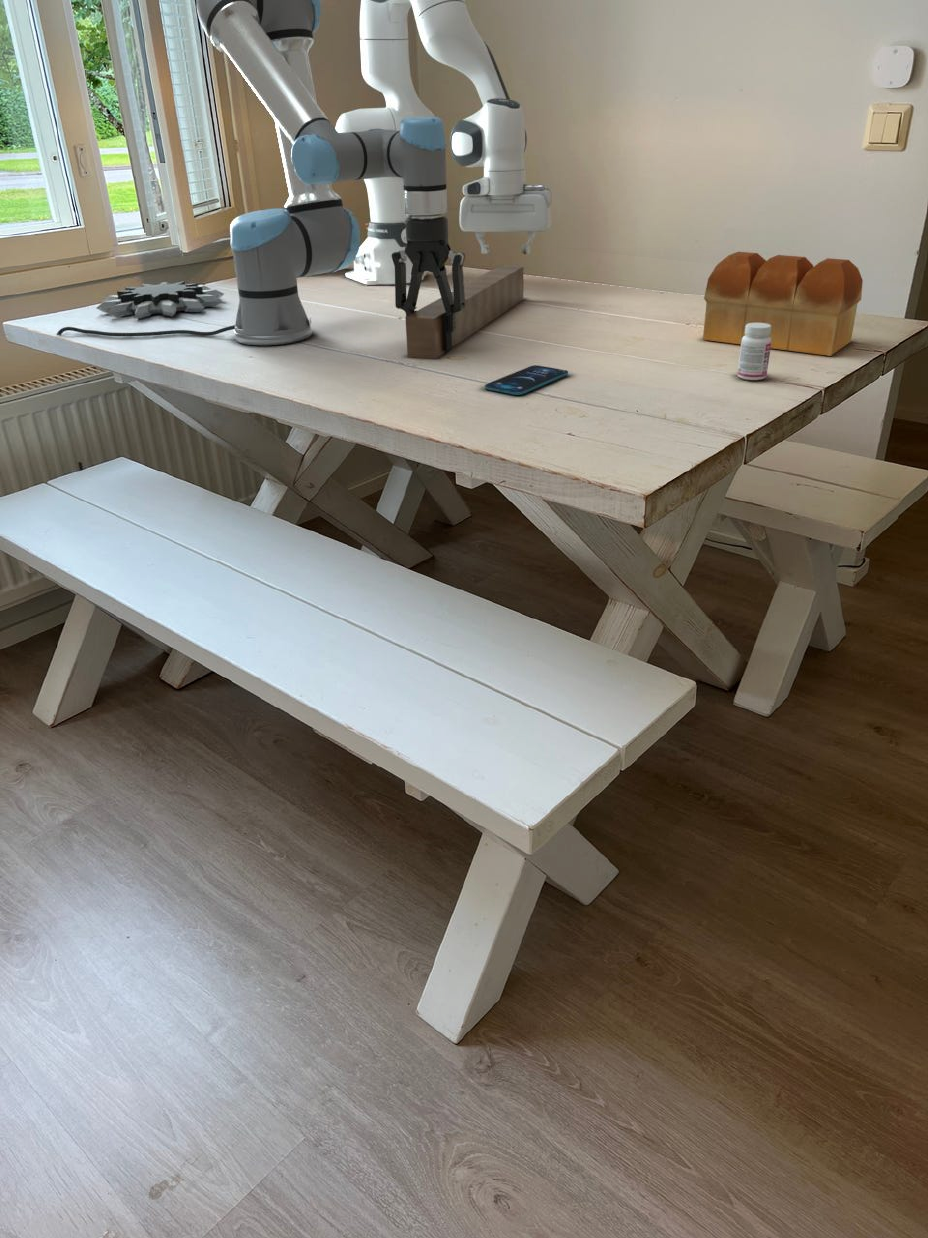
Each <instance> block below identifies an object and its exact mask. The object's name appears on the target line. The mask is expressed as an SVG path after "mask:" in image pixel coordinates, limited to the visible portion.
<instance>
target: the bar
mask: <svg viewBox="0 0 928 1238" xmlns="http://www.w3.org/2000/svg"><path fill="white" fill-rule="evenodd" d="M451 292H452V296H453V299H454V293H453V291H451ZM464 293H465V308H464V309H463V310H461V311H459V312H456V329H455V331H454V332H452V348H454V347H455V346H457V345H458V344H460V343H461V342H462V341H464V340H466V339H467V338H468V337H470V336H471V335H474V334H475V333H476V332H477V331H479V330H480V329H481V328H483V327H484V326H486V325H488V324H489V323H490V322H492V321H494V320H495V319H496V318H498V317H499V316H500V315H502V314H504V313H505V312H507V311H508V310H510V309H511V308H513V307H514V306H515V305H517V304H518V303H520V302H521V301H523V300H524V266H523V265H499V266H496V267H494V268H493V269H491V270H489V271H487V272H486V273H484V274H482V275H480V276H478V277H477V278H474V279H472V280H471V281H469V282H467V283H464ZM415 311H416V312H414V313H412V314H410V315H409V316H407V317H406V316H405V335H406V353H407V358H416V359H417V358H419V359H429V360H430V359H432V360H436V359H437V358H439V357H441V356H442V355H443V354H445V353H447V351H443V332H442V315H443V314H444V313H446V312H445V308H444V305H443V302H442V298H441V297H440V298H438V299H436V300H435V301H433V302H431V303H429V304H427V305H425V306H423V307H421V308H420V309H417V310H415Z"/></svg>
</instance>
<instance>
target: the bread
mask: <svg viewBox="0 0 928 1238" xmlns="http://www.w3.org/2000/svg"><path fill="white" fill-rule="evenodd" d="M863 281H864V280H863V277H862V275H861V272H860V270H859V268H858V267H857V266H856V265H855V264H854V263H853V262H852V261H851V260H850V259H843V258H842V259H841V258H829V257H827V258H825V259H823V260H821V261H819V262H818V263H816V264H815V265H814V264H813V263H812V262H811V261H810V260H809V259H808V258H807V257H806V256H798V255H797V256H796V255H785V254H783V255H782V254H776V255H774V256H772V257H770V258H768V259H767V260H766V259H765V258H764V257H762V255H760V254H759V253H758V252H750V251H749V252H748V251H736V252H734V253H731V254H728V255H727V256H726V257H725V258H723V259H722V260H721V261H720V262H718V264H717V265H715V267H714V269H713V270H712V272H711V273H710V275H709V277H708V278H707V282H706V288H705V292H704V297H703V300H704V301H705V312H704V313H705V314H704V324H703V335H702V340H704V341H712V342H720V343H726V344H735V345H741V341H742V338H743V337H744V336H745V335H746V334H745V327H746V324H748V323H766V324H770V325H771V333H770V335H769V337H770V338H771V349H775V350H783V351H789V352H790V351H791V352H798V353H805V354H814V355H821V356H829V357H831V356H832V355H834V354H835V353H837V352H838V351H840V350H841V349H843V348H844V347H845V346H847V345H848V344H850V343H851V342H852V339H853V338H852V336H853V333H854V332H853V331H854V326H855V320H856V314H857V309H858V304H859V302H861V301H862V293H863V283H864V282H863Z"/></svg>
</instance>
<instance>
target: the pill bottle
mask: <svg viewBox="0 0 928 1238" xmlns="http://www.w3.org/2000/svg"><path fill="white" fill-rule="evenodd" d="M770 333H771V325H770V324H766V323H748V324H746V327H745V334H746V335H745V336H744V337H743V338H742V341H741V344H740V348H739V349H740V350H739V356H738V357H739V358H738V367H737V377H738V378H740V379H742V380H748V381H759V380H764V379H766V378H767V377H768V376H767V375H768V369H769V362H770V355H771V349H772V348H771V338H770V337H769V335H770Z"/></svg>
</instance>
